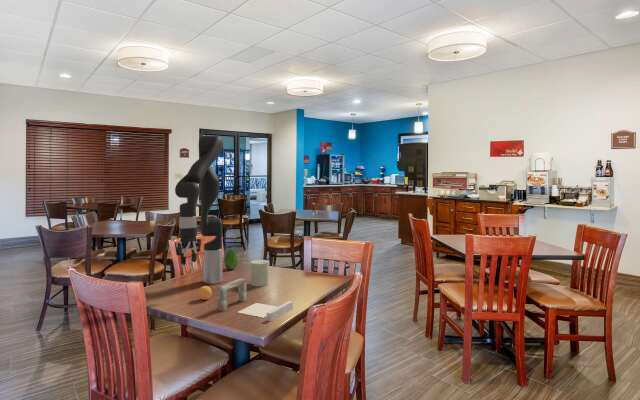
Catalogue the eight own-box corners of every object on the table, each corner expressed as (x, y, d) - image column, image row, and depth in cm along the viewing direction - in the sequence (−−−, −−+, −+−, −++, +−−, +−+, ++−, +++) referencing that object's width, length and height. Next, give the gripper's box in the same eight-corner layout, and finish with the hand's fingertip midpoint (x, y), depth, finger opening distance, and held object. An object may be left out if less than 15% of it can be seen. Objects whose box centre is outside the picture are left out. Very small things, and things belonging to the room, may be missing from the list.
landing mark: (237, 312, 158) (237, 312, 158) (256, 303, 169) (256, 302, 169) (263, 318, 152) (263, 317, 152) (281, 308, 163) (281, 307, 163)
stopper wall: (266, 320, 149) (266, 312, 149) (288, 307, 164) (288, 300, 163) (270, 321, 148) (270, 313, 148) (292, 308, 163) (292, 301, 162)
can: (265, 287, 194) (265, 263, 193) (248, 285, 196) (248, 262, 195) (271, 282, 203) (271, 259, 202) (255, 281, 205) (254, 258, 204)
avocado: (233, 271, 226) (233, 250, 225) (221, 270, 228) (221, 249, 228) (240, 268, 233) (240, 248, 233) (229, 267, 236) (228, 247, 235)
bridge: (218, 309, 161) (218, 286, 160) (241, 299, 174) (241, 278, 174) (223, 310, 160) (223, 287, 159) (246, 300, 173) (246, 279, 172)
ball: (195, 300, 173) (194, 287, 173) (204, 296, 178) (204, 283, 178) (205, 302, 170) (204, 288, 170) (214, 298, 176) (214, 285, 175)
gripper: (193, 224, 185) (194, 259, 186) (169, 227, 172) (170, 265, 173) (205, 225, 181) (206, 260, 182) (181, 228, 168) (182, 267, 169)
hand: (188, 262), depth 178 cm, fingers open, 5 cm apart
